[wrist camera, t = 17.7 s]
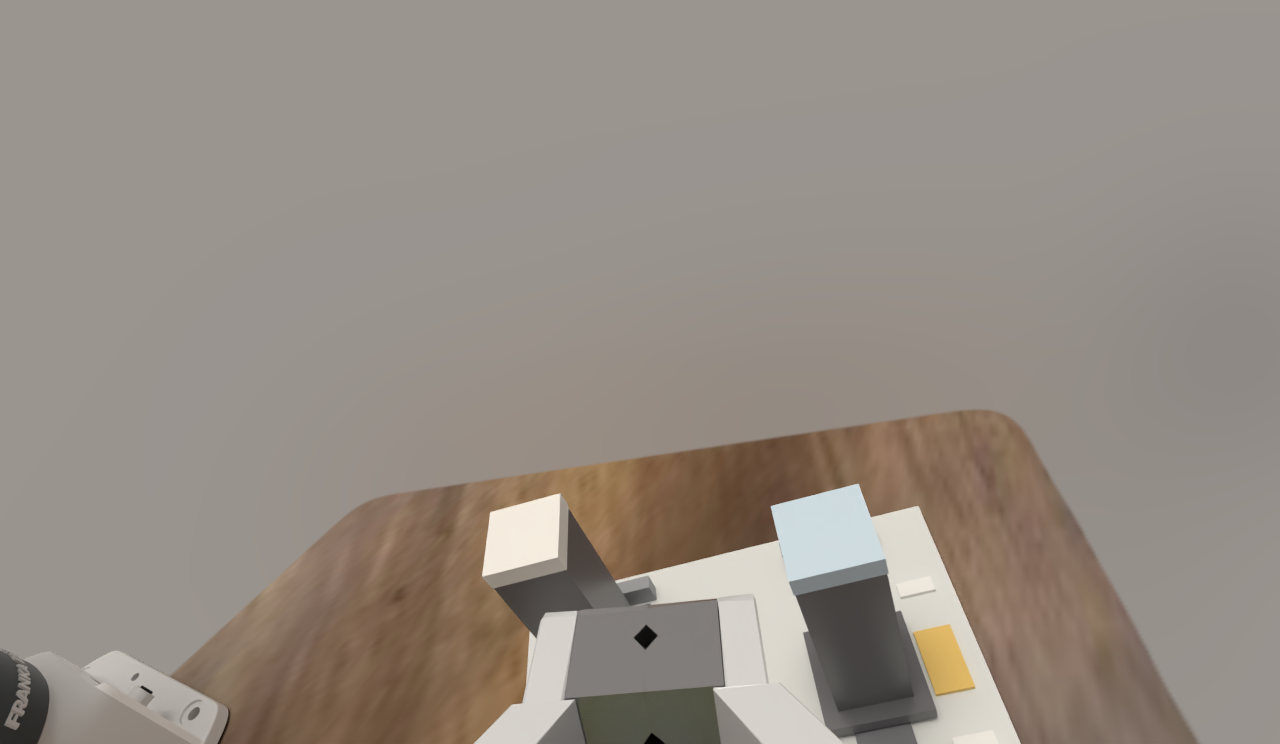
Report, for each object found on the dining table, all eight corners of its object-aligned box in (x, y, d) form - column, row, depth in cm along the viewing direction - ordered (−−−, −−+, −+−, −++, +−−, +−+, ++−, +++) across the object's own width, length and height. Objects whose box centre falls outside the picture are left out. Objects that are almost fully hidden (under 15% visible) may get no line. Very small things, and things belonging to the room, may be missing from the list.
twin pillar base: (517, 963, 34) (494, 951, 32) (538, 609, 47) (522, 589, 46) (1073, 875, 30) (1075, 857, 28) (919, 516, 43) (915, 490, 42)
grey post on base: (572, 714, 40) (465, 594, 32) (574, 629, 44) (478, 504, 36) (661, 694, 39) (572, 567, 32) (654, 610, 43) (574, 478, 35)
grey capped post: (829, 738, 35) (773, 602, 27) (805, 640, 39) (751, 497, 31) (937, 716, 34) (911, 570, 27) (902, 618, 38) (870, 466, 30)
